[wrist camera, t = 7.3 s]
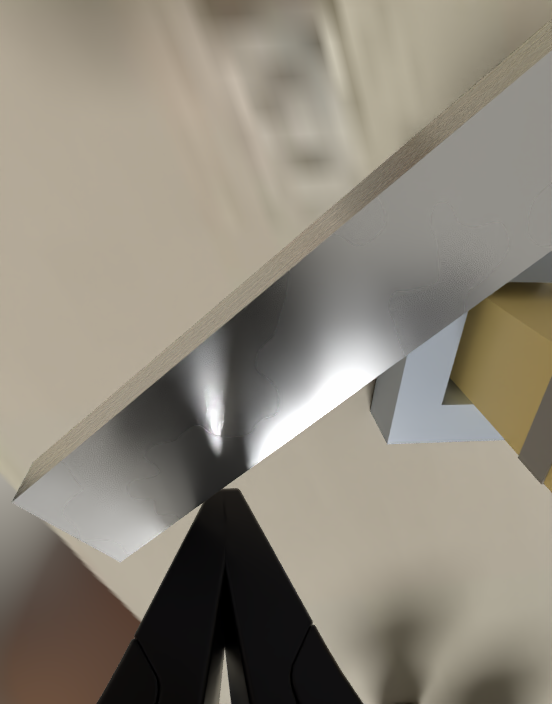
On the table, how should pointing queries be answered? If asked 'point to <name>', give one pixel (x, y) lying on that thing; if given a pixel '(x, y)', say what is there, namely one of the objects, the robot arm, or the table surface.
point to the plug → (512, 369)
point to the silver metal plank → (318, 316)
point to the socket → (436, 387)
